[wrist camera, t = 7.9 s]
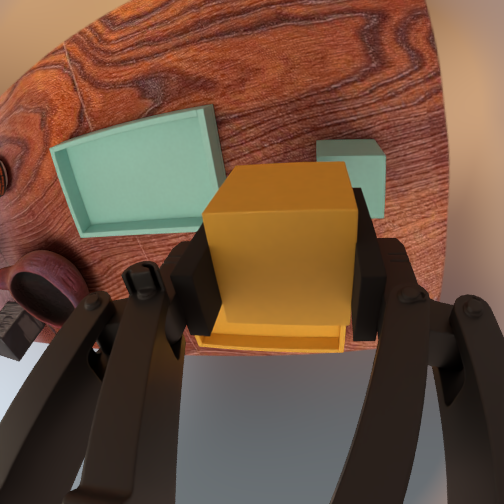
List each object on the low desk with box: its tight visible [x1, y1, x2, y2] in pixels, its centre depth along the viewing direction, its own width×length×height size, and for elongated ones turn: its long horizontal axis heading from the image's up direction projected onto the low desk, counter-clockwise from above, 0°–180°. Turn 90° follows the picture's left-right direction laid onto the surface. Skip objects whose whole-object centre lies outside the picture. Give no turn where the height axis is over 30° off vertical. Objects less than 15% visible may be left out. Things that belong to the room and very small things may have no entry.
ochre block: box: [202, 161, 358, 325], centre depth 13 cm, size 5×5×5 cm
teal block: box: [316, 139, 386, 218], centre depth 24 cm, size 5×5×5 cm
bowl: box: [0, 250, 89, 329], centre depth 39 cm, size 16×13×8 cm
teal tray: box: [50, 104, 226, 238], centre depth 29 cm, size 18×11×3 cm, turn 98°
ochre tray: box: [195, 304, 346, 353], centre depth 35 cm, size 18×11×3 cm, turn 98°
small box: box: [0, 302, 45, 361], centre depth 48 cm, size 11×6×10 cm, turn 104°
